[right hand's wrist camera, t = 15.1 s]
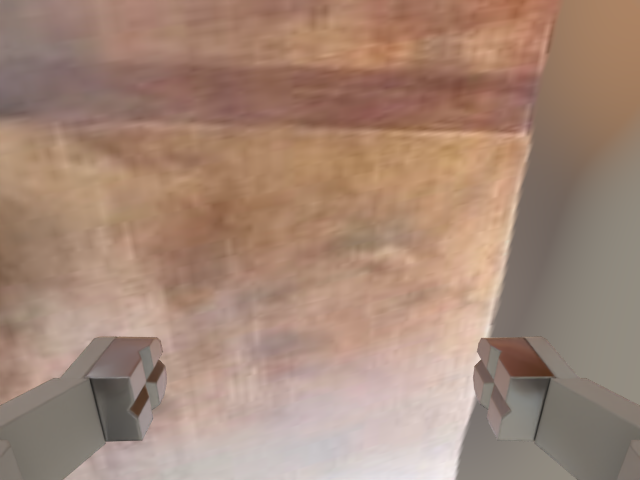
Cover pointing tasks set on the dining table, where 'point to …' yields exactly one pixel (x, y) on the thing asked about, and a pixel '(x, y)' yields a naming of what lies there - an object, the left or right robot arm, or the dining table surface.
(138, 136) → the dining table surface
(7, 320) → the dining table surface
